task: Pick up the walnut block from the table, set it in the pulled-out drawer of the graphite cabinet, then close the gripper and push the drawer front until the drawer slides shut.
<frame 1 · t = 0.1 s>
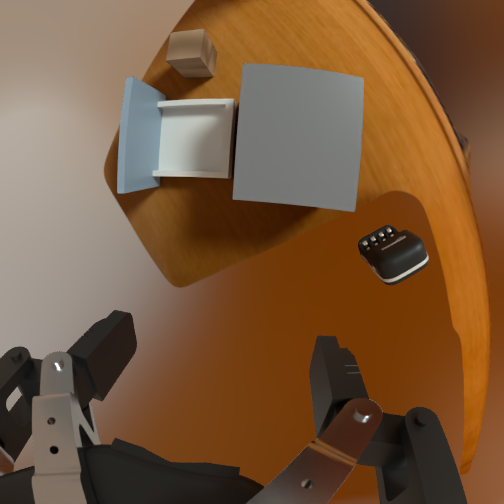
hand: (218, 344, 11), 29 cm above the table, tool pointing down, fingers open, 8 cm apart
block: (200, 64, 32), on the table
cabinet: (292, 144, 35), on the table
drawer: (181, 135, 31), point 6 cm above the table, slide at 12.5 cm
battery charger: (375, 237, 38), on the table
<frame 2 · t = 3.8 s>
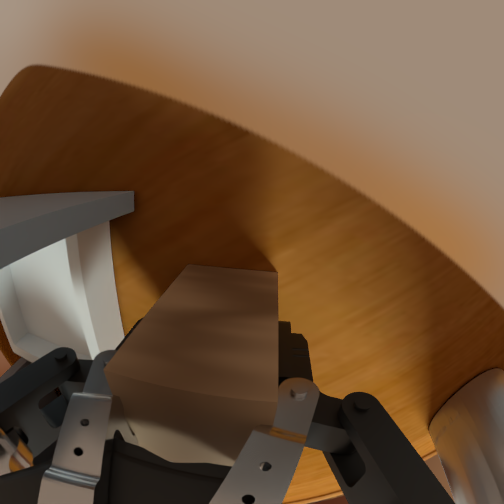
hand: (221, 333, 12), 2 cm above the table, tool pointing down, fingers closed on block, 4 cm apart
block: (230, 307, 14), on the table, touching gripper
cabinet: (102, 415, 19), on the table
drawer: (1, 318, 9), point 6 cm above the table, slide at 12.5 cm
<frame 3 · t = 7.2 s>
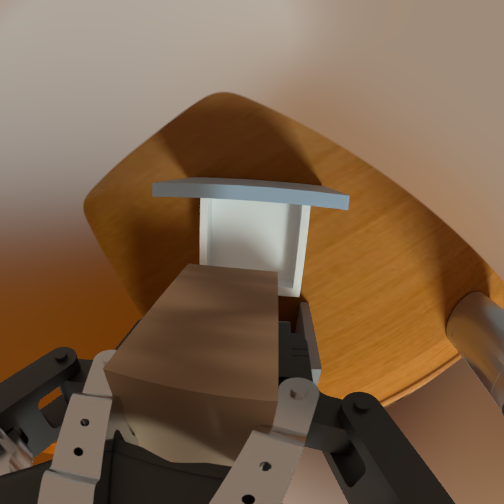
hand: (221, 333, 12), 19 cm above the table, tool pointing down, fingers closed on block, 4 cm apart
block: (230, 307, 14), point 17 cm above the table, touching gripper
cabinet: (247, 338, 34), on the table
drawer: (250, 247, 25), point 5 cm above the table, slide at 12.5 cm
when the fingers open (4 cm above the table, at t = 10.4 s): block stays where it is, resting on drawer.
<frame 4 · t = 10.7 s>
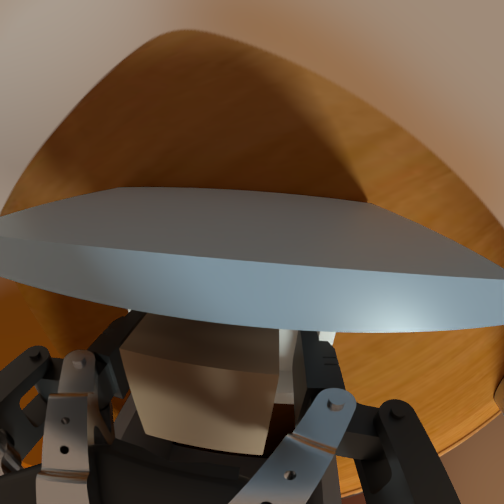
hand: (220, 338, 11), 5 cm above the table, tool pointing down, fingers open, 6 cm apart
block: (233, 299, 15), point 1 cm above the table, touching drawer
cabinet: (230, 430, 20), on the table
drawer: (216, 350, 10), point 5 cm above the table, slide at 12.5 cm, touching block
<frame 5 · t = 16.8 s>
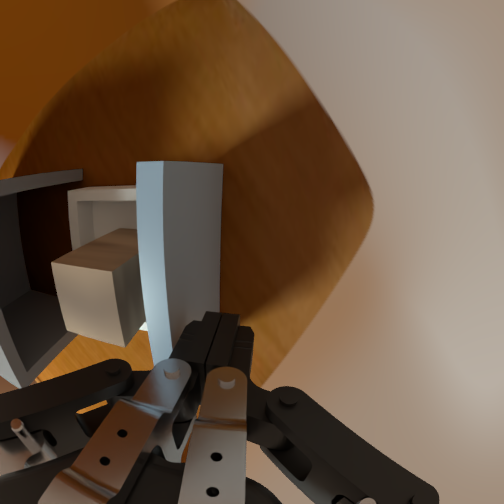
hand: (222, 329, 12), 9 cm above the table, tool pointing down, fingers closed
block: (145, 257, 20), point 1 cm above the table, touching drawer
cabinet: (46, 243, 21), on the table
drawer: (115, 279, 16), point 5 cm above the table, slide at 11.2 cm, touching block, gripper
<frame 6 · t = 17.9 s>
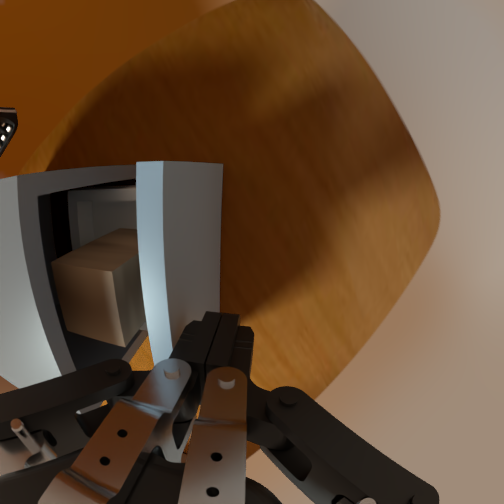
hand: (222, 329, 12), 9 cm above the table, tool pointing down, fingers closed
block: (145, 257, 20), point 1 cm above the table, touching drawer
cabinet: (90, 247, 21), on the table
drawer: (115, 279, 16), point 6 cm above the table, slide at 4.8 cm, touching block, gripper
battery charger: (7, 138, 19), on the table
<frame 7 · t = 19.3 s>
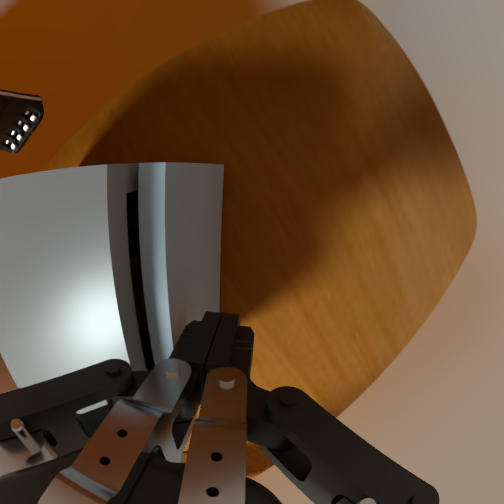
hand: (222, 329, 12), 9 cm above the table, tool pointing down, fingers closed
block: (145, 257, 20), point 1 cm above the table, touching drawer
cabinet: (134, 251, 21), on the table
drawer: (115, 279, 16), point 5 cm above the table, slide at 0.1 cm, touching block, gripper
battery charger: (30, 128, 18), on the table
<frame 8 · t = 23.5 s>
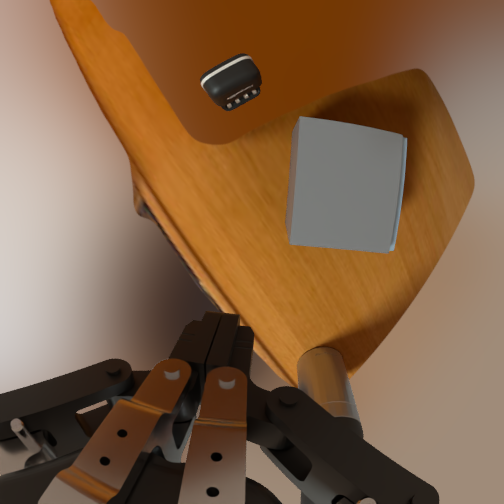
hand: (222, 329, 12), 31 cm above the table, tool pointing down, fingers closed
cabinet: (328, 181, 39), on the table
drawer: (347, 184, 34), point 5 cm above the table, slide at 0.0 cm, touching block
battery charger: (241, 97, 36), on the table
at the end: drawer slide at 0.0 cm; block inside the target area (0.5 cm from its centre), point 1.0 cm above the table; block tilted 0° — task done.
